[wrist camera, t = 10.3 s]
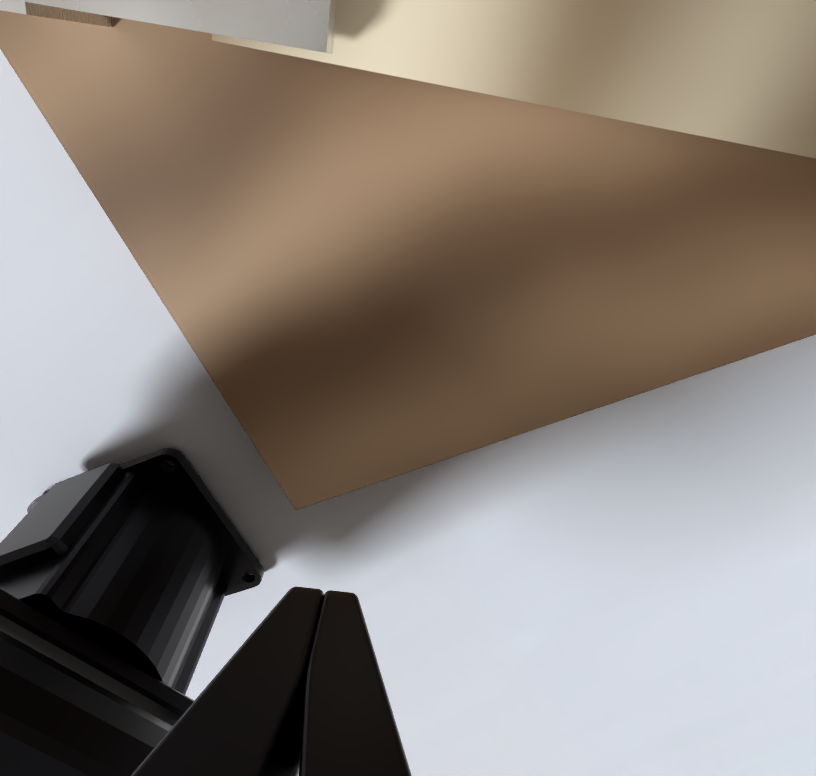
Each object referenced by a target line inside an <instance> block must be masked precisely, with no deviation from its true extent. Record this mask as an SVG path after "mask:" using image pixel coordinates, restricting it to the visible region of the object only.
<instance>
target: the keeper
mask: <svg viewBox="0 0 816 776" xmlns="http://www.w3.org/2000/svg"><path fill="white" fill-rule="evenodd" d="M336 8H337V0H0V10H2V11H8V12H14V13H20V14H26V15H33V16H39V17H46V18H53V19H60V20H66V21H73V22H80V23H87V24H93V25H100V26H107V27H113V17H116V18H122V19H128V20H134V21H140V22H146V23H152V24H158V25H164V26H170V27H176V28H182V29H187V30H193V31H199V32H205V33H211V34H217V35H223V36H229V37H235V38H241V39H247V40H253V41H259V42H264V43H270V44H276V45H282V46H288V47H294V48H300V49H306V50H312V51H318V52H324V53H330V54H333V46H334V33H335V21H336Z"/></svg>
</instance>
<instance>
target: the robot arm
mask: <svg viewBox="0 0 816 776" xmlns="http://www.w3.org/2000/svg"><path fill="white" fill-rule="evenodd" d="M166 460H167V461H170V462H172V463H173V464H174V466H170V465H168V464H167V463H166V462H165V461H166ZM27 511H28V514H27V515H26V516H25V517H24V518H23V519H22V520H21V521H20V523H19V524H18V525H17V526H16V527H15V528H14V529H13V530H12V531H11V532H10V533H9V534H8V536H7V537H6V538H5V539H4V540H3V541H2V542H1V543H0V776H298V773H299V776H411V772H410V769H409V766H408V762H407V759H406V756H405V752H404V749H403V746H402V742H401V739H400V736H399V732H398V729H397V726H396V722H395V719H394V716H393V712H392V709H391V706H390V702H389V699H388V696H387V692H386V689H385V686H384V682H383V679H382V676H381V673H380V669H379V666H378V663H377V659H376V656H375V653H374V649H373V646H372V643H371V639H370V636H369V633H368V629H367V626H366V623H365V619H364V616H363V613H362V609H361V606H360V603H359V599H358V597H357V596H356V595H355V594H354V593H349V592H340V591H327V592H326V593H325V594H323V592H322V591H321V590H320V589H313V588H304V587H294V588H291V589H290V590H289V591H288V592H287V593H286V594H285V596H284V597H283V598H282V599H281V600H280V601H279V603H278V604H277V605H276V606H275V607H274V609H273V610H272V611H271V612H270V613H269V614H268V616H267V617H266V618H265V619H264V620H263V621H262V623H261V624H260V625H259V626H258V627H257V628H256V630H255V631H254V632H253V633H252V634H251V635H250V637H249V638H248V639H247V640H246V641H245V642H244V644H243V645H242V646H241V647H240V648H239V649H238V651H237V652H236V653H235V654H234V655H233V657H232V658H231V659H230V660H229V661H228V662H227V664H226V665H225V666H224V667H223V668H222V669H221V671H220V672H219V673H218V674H217V675H216V676H215V678H214V679H213V680H212V681H211V682H210V683H209V685H208V686H207V687H206V688H205V689H204V690H203V692H202V693H201V694H200V695H199V696H198V697H197V699H196V700H195V701H194V700H192V699H191V698H189V697H187V696H185V693H186V691H187V688H188V686H189V683H190V681H191V678H192V676H193V673H194V671H195V668H196V666H197V663H198V661H199V658H200V656H201V653H202V651H203V648H204V646H205V643H206V641H207V638H208V636H209V633H210V631H211V628H212V626H213V623H214V621H215V618H216V616H217V613H218V611H219V608H220V606H221V603H222V601H223V598H224V596H227V595H230V594H233V593H237V592H240V591H243V590H246V589H249V588H252V587H255V586H257V585H259V584H260V582H261V580H262V577H263V574H264V569H263V567H262V565H261V564H260V563H259V561H258V560H257V558H256V557H255V555H254V554H253V553H252V551H251V550H250V548H249V547H248V546H247V544H246V543H245V541H244V540H243V538H242V537H241V536H240V534H239V533H238V531H237V530H236V529H235V527H234V526H233V524H232V523H231V521H230V520H229V519H228V517H227V516H226V514H225V513H224V512H223V510H222V509H221V507H220V506H219V505H218V503H217V502H216V500H215V499H214V497H213V496H212V495H211V493H210V492H209V490H208V489H207V488H206V486H205V485H204V483H203V482H202V480H201V479H200V478H199V476H198V475H197V473H196V472H195V471H194V469H193V468H192V466H191V465H190V463H189V462H188V461H187V459H186V458H185V456H184V455H183V454H182V453H181V452H180V451H178V450H176V449H172V448H166V449H162V450H160V451H157V452H154V453H152V454H149V455H147V456H144V457H141V458H139V459H136V460H134V461H131V462H128V463H126V464H123V465H121V466H120V465H119V464H117V463H108V464H105V465H103V466H100V467H98V468H95V469H92V470H90V471H87V472H85V473H82V474H79V475H77V476H74V477H72V478H69V479H66V480H64V481H61V482H59V483H56V484H55V485H54V486H53V487H52V488H51V489H50V490H49V491H48V492H47V493H46V494H45V495H42V496H39V497H38V498H36V499H35V500H34V501H33V502H32V503H31V504H30V505H29V507H28V509H27ZM247 573H251V574H253V575H249V574H247Z"/></svg>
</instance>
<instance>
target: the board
mask: <svg viewBox="0 0 816 776" xmlns="http://www.w3.org/2000/svg"><path fill="white" fill-rule="evenodd" d="M0 49H1V50H2V52H3V53H4V55H5V57H6V58H7V60H8V61H9V63H10V64H11V66H12V68H13V69H14V71H15V72H16V74H17V75H18V77H19V78H20V80H21V82H22V83H23V85H24V86H25V88H26V89H27V91H28V93H29V94H30V96H31V97H32V99H33V100H34V102H35V103H36V105H37V107H38V108H39V110H40V111H41V113H42V114H43V116H44V118H45V119H46V121H47V122H48V124H49V125H50V127H51V128H52V130H53V132H54V133H55V135H56V136H57V138H58V139H59V141H60V143H61V144H62V146H63V147H64V149H65V150H66V152H67V153H68V155H69V157H70V158H71V160H72V161H73V163H74V164H75V166H76V168H77V169H78V171H79V172H80V174H81V175H82V177H83V178H84V180H85V182H86V183H87V185H88V186H89V188H90V189H91V191H92V192H93V194H94V196H95V197H96V199H97V200H98V202H99V203H100V205H101V207H102V208H103V210H104V211H105V213H106V214H107V216H108V217H109V219H110V221H111V222H112V224H113V225H114V227H115V228H116V230H117V232H118V233H119V235H120V236H121V238H122V239H123V241H124V242H125V244H126V246H127V247H128V249H129V250H130V252H131V253H132V255H133V257H134V258H135V260H136V261H137V263H138V264H139V266H140V267H141V269H142V271H143V272H144V274H145V275H146V277H147V278H148V280H149V282H150V283H151V285H152V286H153V288H154V289H155V291H156V292H157V294H158V296H159V297H160V299H161V300H162V302H163V303H164V305H165V307H166V308H167V310H168V311H169V313H170V314H171V316H172V317H173V319H174V321H175V322H176V324H177V325H178V327H179V328H180V330H181V332H182V333H183V335H184V336H185V338H186V339H187V341H188V342H189V344H190V346H191V347H192V349H193V350H194V352H195V353H196V355H197V357H198V358H199V360H200V361H201V363H202V364H203V366H204V367H205V369H206V371H207V372H208V374H209V375H210V377H211V378H212V380H213V382H214V383H215V385H216V386H217V388H218V389H219V391H220V392H221V394H222V396H223V397H224V399H225V400H226V402H227V403H228V405H229V407H230V408H231V410H232V411H233V413H234V414H235V416H236V417H237V419H238V421H239V422H240V424H241V425H242V427H243V428H244V430H245V432H246V433H247V435H248V436H249V438H250V439H251V441H252V442H253V444H254V446H255V447H256V449H257V450H258V452H259V453H260V455H261V457H262V458H263V460H264V461H265V463H266V464H267V466H268V467H269V469H270V471H271V472H272V474H273V475H274V477H275V478H276V480H277V481H278V483H279V485H280V486H281V488H282V489H283V491H284V492H285V494H286V496H287V497H288V499H289V500H290V502H291V503H292V505H293V506H294V508H295V510H298V509H301V508H303V507H306V506H309V505H312V504H315V503H318V502H321V501H324V500H327V499H330V498H333V497H336V496H339V495H342V494H345V493H348V492H351V491H354V490H357V489H360V488H363V487H366V486H369V485H371V484H374V483H377V482H380V481H383V480H386V479H389V478H392V477H395V476H398V475H401V474H404V473H407V472H410V471H413V470H416V469H419V468H422V467H425V466H428V465H431V464H434V463H437V462H440V461H442V460H445V459H448V458H451V457H454V456H457V455H460V454H463V453H466V452H469V451H472V450H475V449H478V448H481V447H484V446H487V445H490V444H493V443H496V442H499V441H502V440H505V439H508V438H510V437H513V436H516V435H519V434H522V433H525V432H528V431H531V430H534V429H537V428H540V427H543V426H546V425H549V424H552V423H555V422H558V421H561V420H564V419H567V418H570V417H573V416H576V415H578V414H581V413H584V412H587V411H590V410H593V409H596V408H599V407H602V406H605V405H608V404H611V403H614V402H617V401H620V400H623V399H626V398H629V397H632V396H635V395H638V394H641V393H644V392H647V391H649V390H652V389H655V388H658V387H661V386H664V385H667V384H670V383H673V382H676V381H679V380H682V379H685V378H688V377H691V376H694V375H697V374H700V373H703V372H706V371H709V370H712V369H715V368H717V367H720V366H723V365H726V364H729V363H732V362H735V361H738V360H741V359H744V358H747V357H750V356H753V355H756V354H759V353H762V352H765V351H768V350H771V349H774V348H777V347H780V346H783V345H786V344H788V343H791V342H794V341H797V340H800V339H803V338H806V337H809V336H812V335H815V334H816V158H811V157H806V156H801V155H795V154H790V153H785V152H780V151H775V150H770V149H765V148H760V147H755V146H749V145H744V144H739V143H734V142H729V141H724V140H719V139H714V138H709V137H703V136H698V135H693V134H688V133H683V132H678V131H673V130H668V129H663V128H657V127H652V126H647V125H642V124H637V123H632V122H627V121H622V120H617V119H611V118H606V117H601V116H596V115H591V114H586V113H581V112H576V111H571V110H565V109H560V108H555V107H550V106H545V105H540V104H535V103H530V102H525V101H519V100H514V99H509V98H504V97H499V96H494V95H489V94H484V93H479V92H473V91H468V90H463V89H458V88H453V87H448V86H443V85H438V84H433V83H427V82H422V81H417V80H412V79H407V78H402V77H397V76H392V75H387V74H381V73H376V72H371V71H366V70H361V69H356V68H351V67H346V66H341V65H335V64H330V63H325V62H320V61H315V60H310V59H305V58H300V57H295V56H289V55H284V54H279V53H274V52H269V51H264V50H259V49H254V48H249V47H243V46H238V45H233V44H228V43H223V42H218V41H213V40H212V34H211V33H205V32H199V31H193V30H187V29H182V28H176V27H170V26H164V25H158V24H152V23H146V22H140V21H134V20H128V19H122V18H116V17H113V27H107V26H100V25H93V24H87V23H80V22H73V21H66V20H60V19H53V18H46V17H39V16H33V15H26V14H20V13H14V12H8V11H2V10H0Z"/></svg>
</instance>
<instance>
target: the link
mask: <svg viewBox="0 0 816 776" xmlns="http://www.w3.org/2000/svg"><path fill="white" fill-rule="evenodd" d="M212 40H213V41H218V42H223V43H228V44H233V45H238V46H243V47H249V48H254V49H259V50H264V51H269V52H274V53H279V54H284V55H289V56H295V57H300V58H305V59H310V60H315V61H320V62H325V63H330V64H335V65H341V66H346V67H351V68H356V69H361V70H366V71H371V72H376V73H381V74H387V75H392V76H397V77H402V78H407V79H412V80H417V81H422V82H427V83H433V84H438V85H443V86H448V87H453V88H458V89H463V90H468V91H473V92H479V93H484V94H489V95H494V96H499V97H504V98H509V99H514V100H519V101H525V102H530V103H535V104H540V105H545V106H550V107H555V108H560V109H565V110H571V111H576V112H581V113H586V114H591V115H596V116H601V117H606V118H611V119H617V120H622V121H627V122H632V123H637V124H642V125H647V126H652V127H657V128H663V129H668V130H673V131H678V132H683V133H688V134H693V135H698V136H703V137H709V138H714V139H719V140H724V141H729V142H734V143H739V144H744V145H749V146H755V147H760V148H765V149H770V150H775V151H780V152H785V153H790V154H795V155H801V156H806V157H811V158H816V0H337V8H336V21H335V33H334V46H333V54H330V53H324V52H318V51H312V50H306V49H300V48H294V47H288V46H282V45H276V44H270V43H264V42H259V41H253V40H247V39H241V38H235V37H229V36H223V35H217V34H212Z"/></svg>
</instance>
